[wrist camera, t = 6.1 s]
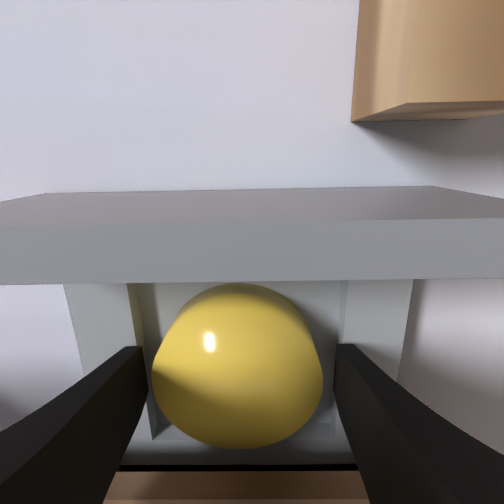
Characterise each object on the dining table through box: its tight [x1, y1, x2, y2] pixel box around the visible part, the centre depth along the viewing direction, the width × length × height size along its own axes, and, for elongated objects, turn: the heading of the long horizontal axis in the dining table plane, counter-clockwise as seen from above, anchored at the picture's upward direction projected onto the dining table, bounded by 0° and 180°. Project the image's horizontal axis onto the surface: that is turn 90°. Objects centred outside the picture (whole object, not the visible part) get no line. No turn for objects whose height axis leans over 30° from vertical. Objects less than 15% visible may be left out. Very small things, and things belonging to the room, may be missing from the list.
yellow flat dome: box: [151, 283, 323, 449], centre depth 11 cm, size 6×6×2 cm
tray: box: [0, 186, 504, 465], centre depth 10 cm, size 14×12×6 cm
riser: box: [351, 0, 504, 122], centre depth 8 cm, size 4×4×4 cm
